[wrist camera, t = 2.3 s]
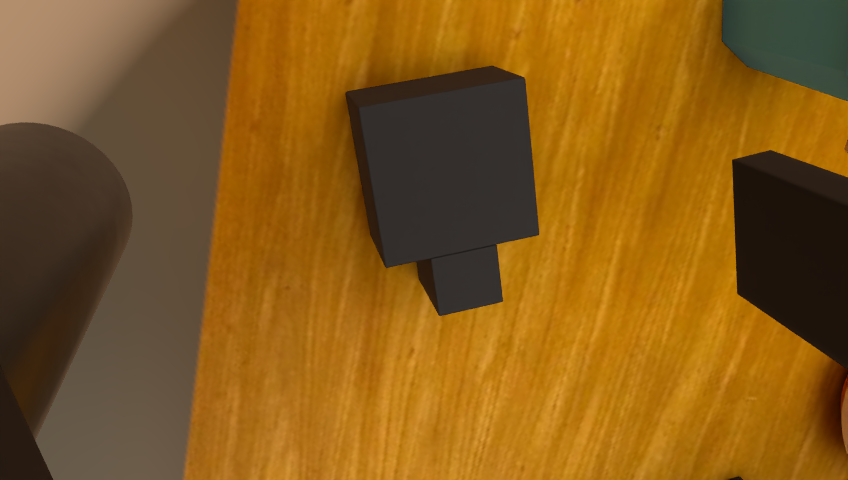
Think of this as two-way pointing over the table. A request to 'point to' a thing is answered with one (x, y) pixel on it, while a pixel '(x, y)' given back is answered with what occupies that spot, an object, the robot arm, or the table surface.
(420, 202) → the tab pad
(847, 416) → the vase
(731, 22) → the cup
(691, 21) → the table surface
